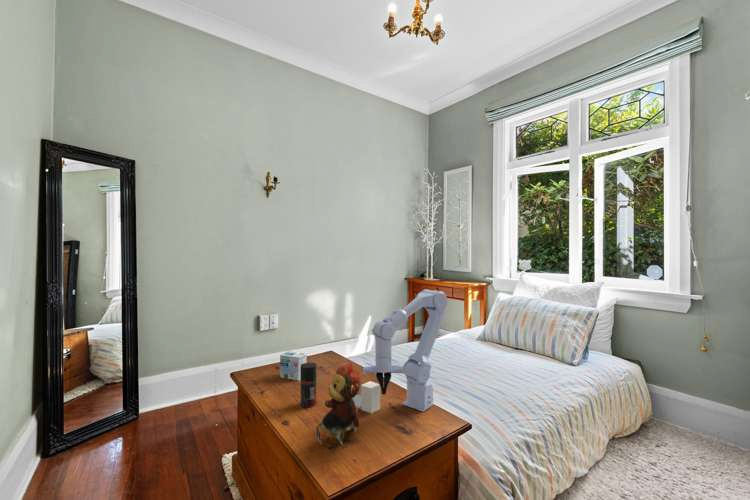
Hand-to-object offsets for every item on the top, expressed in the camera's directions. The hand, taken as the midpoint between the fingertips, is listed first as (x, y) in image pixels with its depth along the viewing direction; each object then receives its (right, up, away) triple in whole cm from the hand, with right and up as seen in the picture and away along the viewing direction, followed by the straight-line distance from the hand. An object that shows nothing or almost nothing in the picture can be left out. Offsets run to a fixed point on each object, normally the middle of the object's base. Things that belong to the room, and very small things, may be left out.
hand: (383, 393), depth 123 cm
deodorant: (-29, -8, +8) cm, 31 cm away
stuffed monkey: (-14, -8, -17) cm, 23 cm away
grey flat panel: (-12, -8, +10) cm, 18 cm away
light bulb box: (-41, -8, +37) cm, 56 cm away
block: (-5, -8, +4) cm, 10 cm away
